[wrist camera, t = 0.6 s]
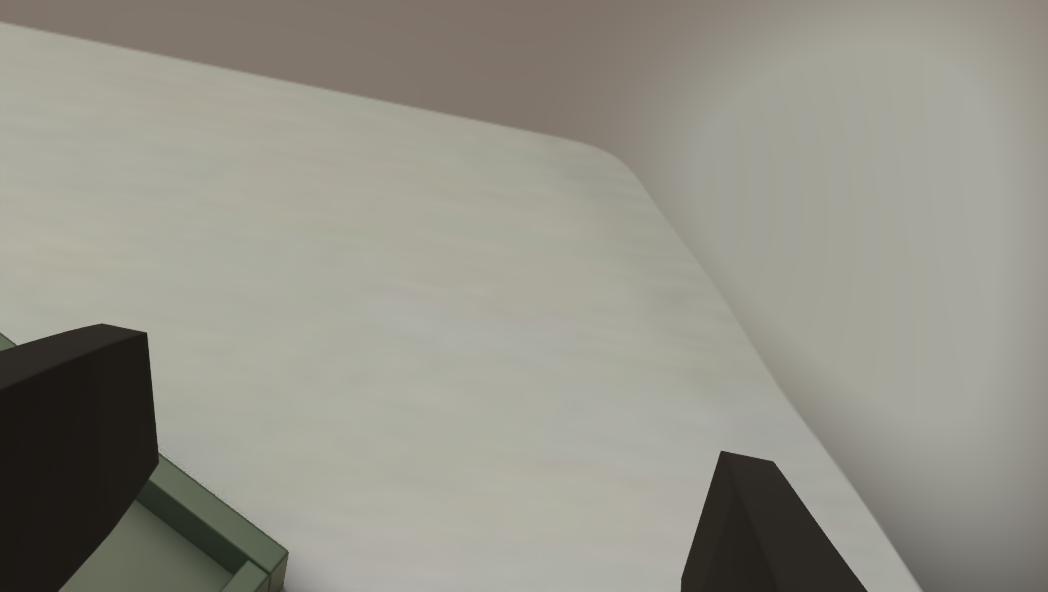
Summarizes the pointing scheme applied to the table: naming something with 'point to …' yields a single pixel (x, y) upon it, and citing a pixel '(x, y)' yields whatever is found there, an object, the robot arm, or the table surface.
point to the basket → (180, 543)
